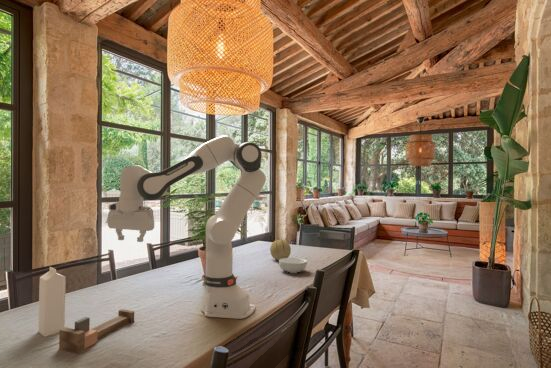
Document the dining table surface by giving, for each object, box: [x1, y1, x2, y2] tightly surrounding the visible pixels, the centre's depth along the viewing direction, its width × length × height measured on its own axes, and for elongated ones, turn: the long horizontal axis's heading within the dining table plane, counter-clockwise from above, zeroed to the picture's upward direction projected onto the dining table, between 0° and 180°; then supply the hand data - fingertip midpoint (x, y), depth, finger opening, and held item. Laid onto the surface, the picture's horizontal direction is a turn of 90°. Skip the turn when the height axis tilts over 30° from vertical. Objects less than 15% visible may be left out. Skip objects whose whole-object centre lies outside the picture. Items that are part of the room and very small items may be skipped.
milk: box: [37, 266, 67, 337], centre depth 111 cm, size 6×6×22 cm
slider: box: [74, 316, 98, 350], centre depth 102 cm, size 7×5×8 cm
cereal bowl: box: [278, 257, 308, 274], centre depth 194 cm, size 17×17×7 cm
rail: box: [58, 308, 135, 355], centre depth 109 cm, size 8×24×6 cm, turn 162°
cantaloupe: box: [269, 238, 292, 261], centre depth 224 cm, size 15×15×15 cm
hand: (130, 240), depth 127 cm, fingers open, 8 cm apart
